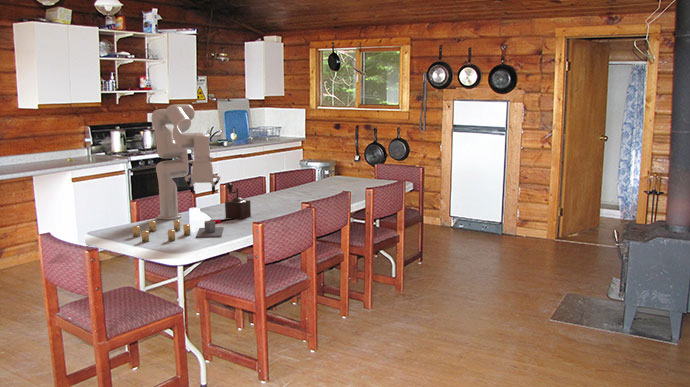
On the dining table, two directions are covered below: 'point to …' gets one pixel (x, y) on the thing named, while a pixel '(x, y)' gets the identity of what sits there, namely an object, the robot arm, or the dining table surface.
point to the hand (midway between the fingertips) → (203, 193)
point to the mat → (203, 234)
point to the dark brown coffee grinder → (237, 206)
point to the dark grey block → (209, 226)
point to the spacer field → (153, 228)
